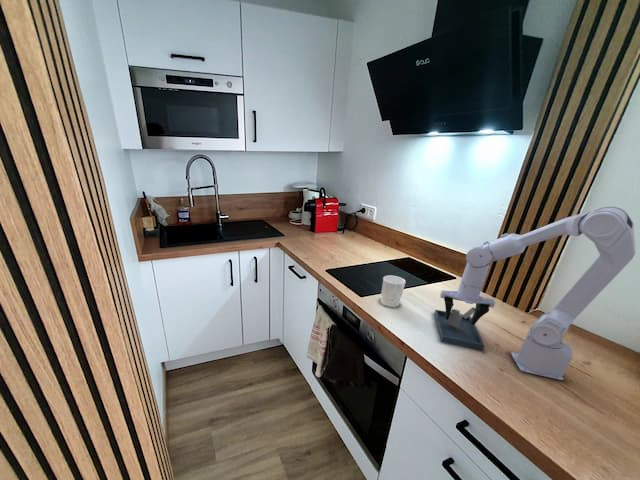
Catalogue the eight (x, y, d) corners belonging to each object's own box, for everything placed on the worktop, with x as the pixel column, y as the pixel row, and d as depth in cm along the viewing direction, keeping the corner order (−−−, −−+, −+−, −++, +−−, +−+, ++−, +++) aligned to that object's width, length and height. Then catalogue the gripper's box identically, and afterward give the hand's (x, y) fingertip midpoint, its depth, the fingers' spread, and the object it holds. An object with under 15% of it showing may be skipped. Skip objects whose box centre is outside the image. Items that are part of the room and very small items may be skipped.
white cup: (404, 307, 107) (410, 283, 103) (385, 308, 106) (390, 284, 102) (393, 297, 114) (398, 274, 110) (375, 298, 113) (379, 275, 109)
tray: (468, 320, 100) (470, 316, 99) (482, 350, 85) (484, 345, 84) (433, 314, 104) (435, 309, 103) (441, 341, 89) (442, 336, 88)
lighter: (444, 322, 96) (451, 301, 93) (446, 320, 97) (453, 299, 94) (468, 331, 91) (475, 310, 88) (469, 329, 93) (477, 308, 89)
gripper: (446, 283, 87) (435, 321, 92) (503, 293, 82) (488, 333, 87) (444, 275, 93) (433, 311, 98) (496, 284, 88) (483, 321, 93)
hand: (459, 320), depth 93 cm, fingers closed on lighter, 7 cm apart
